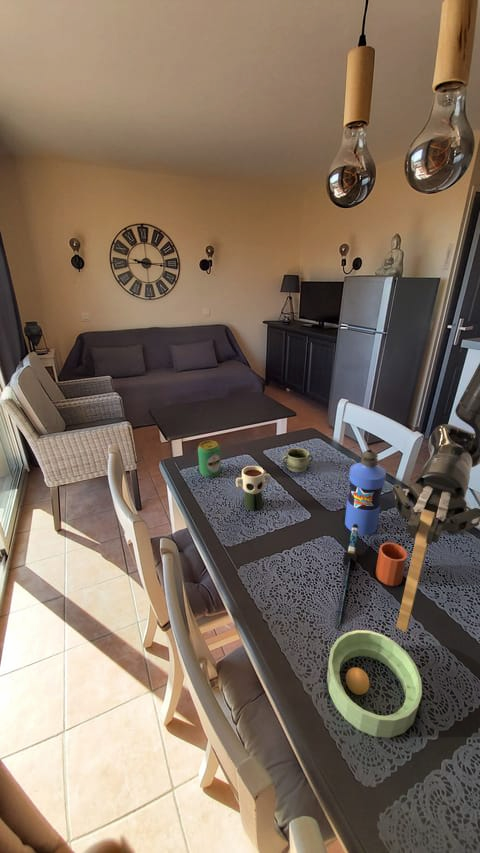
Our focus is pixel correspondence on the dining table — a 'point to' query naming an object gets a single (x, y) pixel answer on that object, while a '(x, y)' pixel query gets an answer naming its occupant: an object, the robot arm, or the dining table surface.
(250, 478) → the character mug
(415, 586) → the stick
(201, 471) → the beverage can
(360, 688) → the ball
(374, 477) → the water bottle
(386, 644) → the green faceted ring
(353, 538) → the knife
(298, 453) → the vessel
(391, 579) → the holder
